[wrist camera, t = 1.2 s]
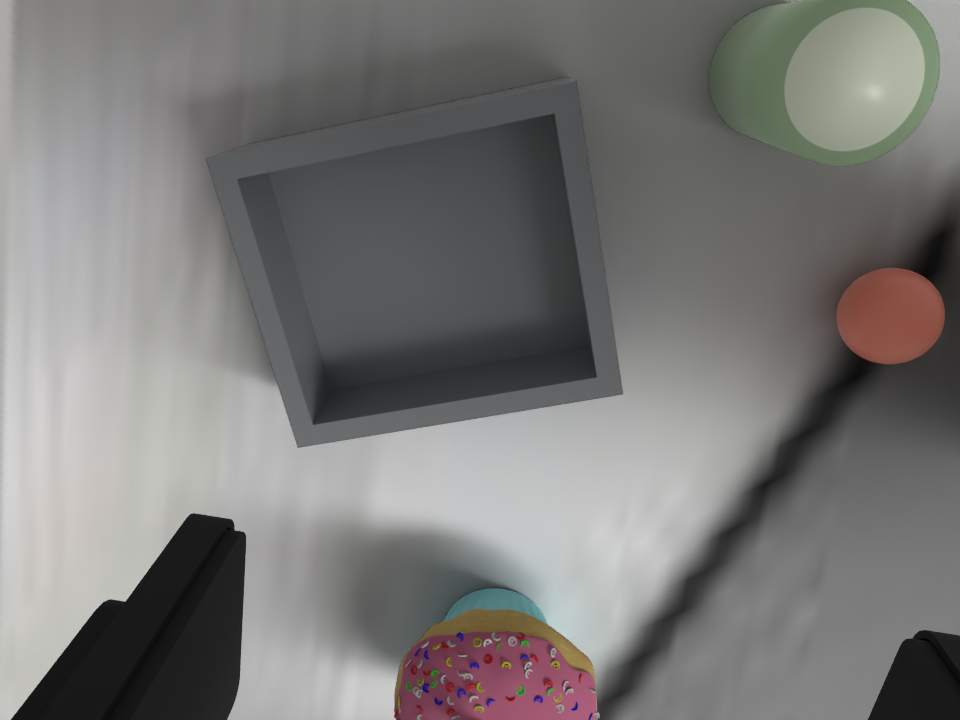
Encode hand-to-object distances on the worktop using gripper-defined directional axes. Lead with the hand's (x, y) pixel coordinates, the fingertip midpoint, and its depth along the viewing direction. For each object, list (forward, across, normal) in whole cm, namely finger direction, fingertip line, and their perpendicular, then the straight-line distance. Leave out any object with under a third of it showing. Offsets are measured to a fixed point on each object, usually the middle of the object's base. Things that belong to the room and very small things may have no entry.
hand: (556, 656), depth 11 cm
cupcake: (+21, -1, +17) cm, 27 cm away
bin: (+21, +4, 0) cm, 21 cm away
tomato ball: (+21, -13, -1) cm, 24 cm away
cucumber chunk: (+21, -7, -8) cm, 23 cm away
